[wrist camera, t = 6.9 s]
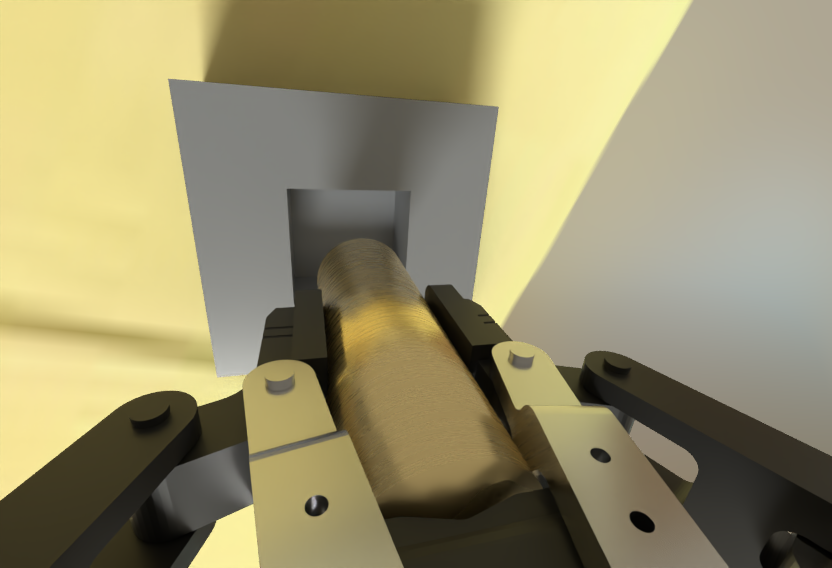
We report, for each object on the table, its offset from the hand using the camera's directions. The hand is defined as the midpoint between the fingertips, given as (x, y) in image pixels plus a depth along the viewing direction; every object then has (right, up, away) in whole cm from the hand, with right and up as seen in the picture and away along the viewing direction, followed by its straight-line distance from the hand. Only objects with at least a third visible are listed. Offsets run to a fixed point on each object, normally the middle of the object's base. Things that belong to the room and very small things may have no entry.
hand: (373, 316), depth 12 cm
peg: (-1, +1, +3) cm, 3 cm away
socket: (-3, +4, +10) cm, 11 cm away
